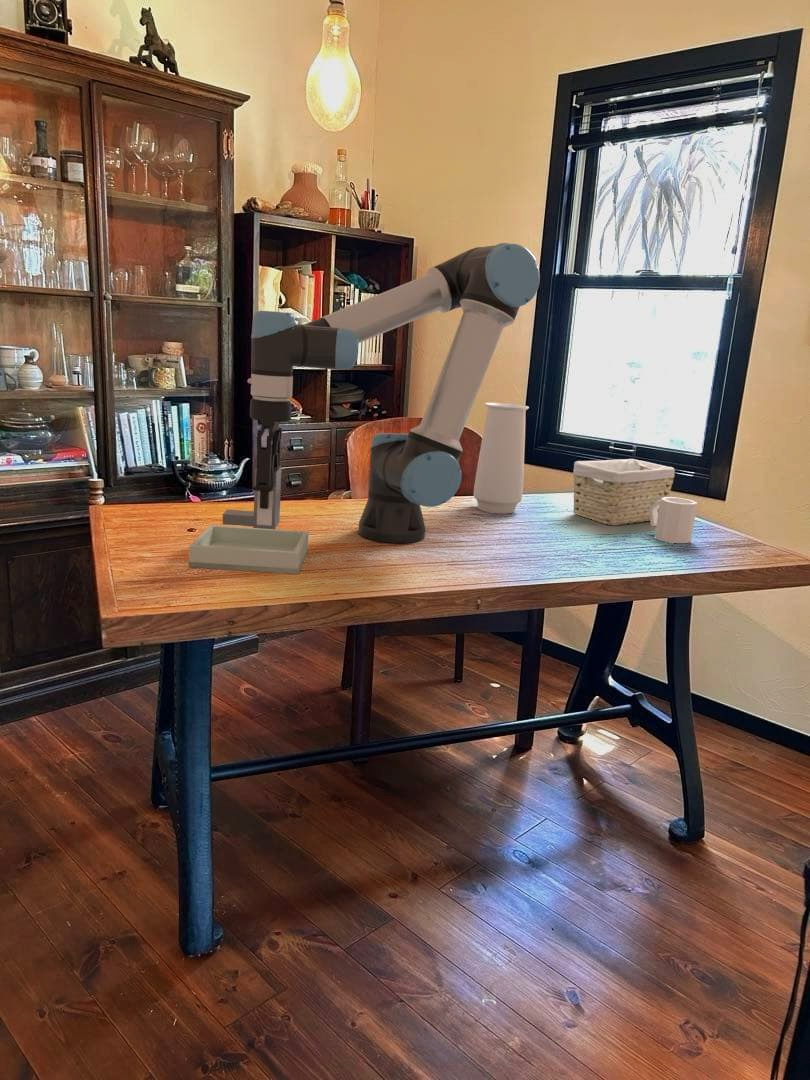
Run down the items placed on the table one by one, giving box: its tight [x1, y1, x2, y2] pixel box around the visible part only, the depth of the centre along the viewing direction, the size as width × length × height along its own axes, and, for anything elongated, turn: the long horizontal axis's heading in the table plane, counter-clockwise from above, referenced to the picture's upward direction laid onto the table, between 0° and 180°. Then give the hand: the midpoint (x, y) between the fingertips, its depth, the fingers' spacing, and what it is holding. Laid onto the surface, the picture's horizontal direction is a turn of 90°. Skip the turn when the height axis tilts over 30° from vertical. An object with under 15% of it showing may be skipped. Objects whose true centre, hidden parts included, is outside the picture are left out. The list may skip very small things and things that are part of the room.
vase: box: [473, 402, 530, 515], centre depth 204 cm, size 13×13×28 cm
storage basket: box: [572, 458, 676, 526], centre depth 207 cm, size 24×16×15 cm
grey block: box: [222, 465, 282, 529], centre depth 146 cm, size 10×6×11 cm, turn 90°
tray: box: [188, 524, 309, 575], centre depth 149 cm, size 20×16×4 cm
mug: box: [649, 496, 698, 544], centre depth 189 cm, size 12×9×10 cm
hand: (267, 520), depth 147 cm, fingers closed on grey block, 6 cm apart
